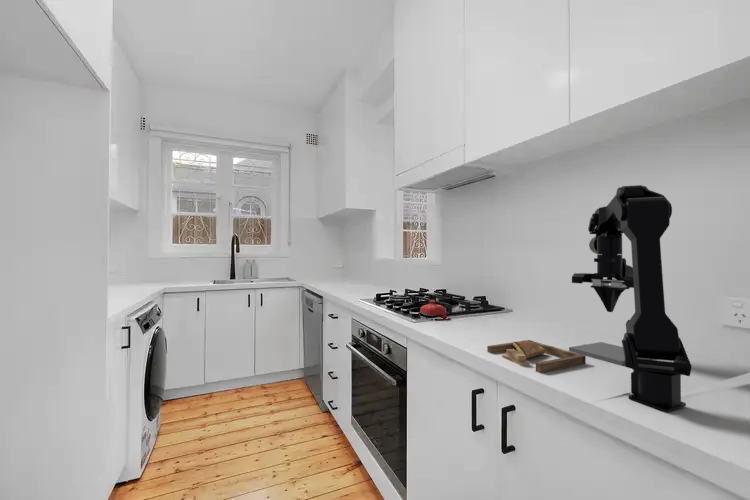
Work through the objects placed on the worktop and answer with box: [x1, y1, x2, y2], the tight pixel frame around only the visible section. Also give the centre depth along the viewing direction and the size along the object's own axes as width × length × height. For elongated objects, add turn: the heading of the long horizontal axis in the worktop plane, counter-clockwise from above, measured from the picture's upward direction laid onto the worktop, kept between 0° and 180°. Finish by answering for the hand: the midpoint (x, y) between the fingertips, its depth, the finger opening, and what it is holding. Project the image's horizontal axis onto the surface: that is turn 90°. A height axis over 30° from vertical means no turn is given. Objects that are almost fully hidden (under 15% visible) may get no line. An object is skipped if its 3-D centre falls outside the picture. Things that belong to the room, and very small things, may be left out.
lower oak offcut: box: [501, 353, 530, 367], centre depth 88 cm, size 7×2×2 cm, turn 20°
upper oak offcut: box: [505, 349, 527, 362], centre depth 88 cm, size 6×2×2 cm, turn 6°
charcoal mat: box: [568, 341, 650, 366], centre depth 94 cm, size 14×14×1 cm
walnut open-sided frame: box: [486, 339, 587, 374], centre depth 91 cm, size 17×16×2 cm
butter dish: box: [419, 299, 451, 321], centre depth 143 cm, size 12×12×8 cm
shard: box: [512, 340, 546, 360], centre depth 93 cm, size 11×8×2 cm
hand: (610, 311), depth 94 cm, fingers closed
